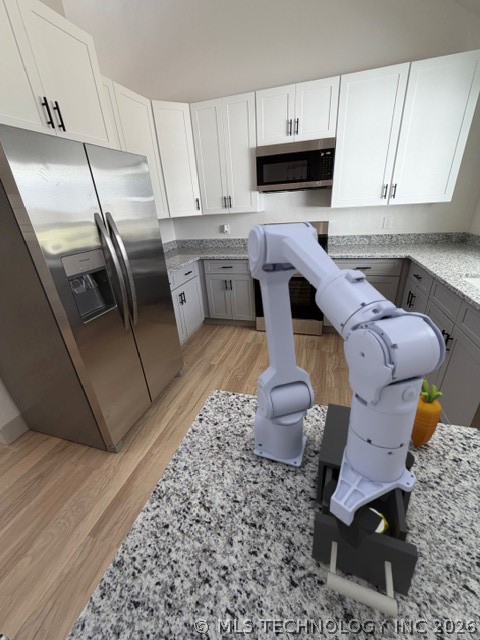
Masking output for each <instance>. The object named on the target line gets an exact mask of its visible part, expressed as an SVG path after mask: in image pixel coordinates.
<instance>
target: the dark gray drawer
mask: <svg viewBox="0 0 480 640" xmlns="http://www.w3.org/2000/svg"><path fill="white" fill-rule="evenodd" d="M339 475H340V469H336V468H333V467H329V466H327V472H326V479H325V486H326V485H327V483H328V482H329V481H330V480H331V479H333V480H335V481H336V482H338V480H339ZM366 506H367V507H368V508H371V509H374V510H376V511H377V512H378V513H381V514H382V515H383V517H384V519H385V520H386V522H387V524H388V526H389V527H388V529H387V530H386V531H385V532H384V533H382V534H381V533H378V532H374V533H373V534H372V535H366V536H365V538H364V540H363V542H362V543H361V545H360V547H359V548H358V549H354V548H353V547H352V546H351V545H349V544H348V543H347V542H346V541H345V540H343V539H342V538H341V537H340V534H339V530H338V526H337V523H336V520H335V517H334V515H333V513H332V512H330V508H329V506H328V505H327V504H326V502H325V501H324V500H323V502H322V505H321V512H319V511H316V510H315V512H314V517H313V531H312V532H313V533H312V547H311V559H313V560H316V561H318V562H320V563H323V564H325V565H327V566H329V571H328V572H327V577H326V589H329V590H330V591H333V592H336V593H338V594H340V595H342V596H345V597H347V598H349V599H352V600H354V601H356V602H358V603H361V604H363V605H364V606H367V607H370V608H372V609H375V610H377V611H379V612H381V613H383V614H385V615H388V616H390V617H393V618H396V619H398V611H399V610H398V601H397V600H396V599H395V596H394V593H396V594H398V595H401V596H403V597H408V595H409V592H410V591H409V590H410V587H411V584H412V581H413V577H414V573H415V569H416V566H417V563H418V558H419V552H418V547H417V545H415V544H413V543H410V542H407V541H406V540H407V537H408V526H407V520H406V517H405V512H404V505H403V498H402V491H401V488H399V487H396V488H394V489H393V490H392V492H391V494H390V495H389V497H388V499H387V500H386V501H385V502H384V501H382V500H381V499H379V498H378V497H377V498H376V499H374V500H372V501H370V502H368V503H366ZM336 570H340V571H343V572H345V573H347V574H349V575H352V576H355V577H357V578H359V579H362V580H365V581H367V582H370V583H372V584H374V585H377V586H379V587H382V588H384V589H386V591H385V592H386V595H385V594H383V593H380V592H377V591H376V590H374V589H370V588H368V587H365V586H364V585H361V584H358V583H357V582H354V581H351V580H349V579H347V578H344V577H342V576H340V575H337V574H336Z"/></svg>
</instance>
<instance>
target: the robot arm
mask: <svg viewBox="0 0 480 640" xmlns="http://www.w3.org/2000/svg"><path fill="white" fill-rule="evenodd" d="M246 248H247V256H248V265H249V271H250V275H251V278H253V279H256V280H258V281H259V286H260V292H261V299H262V309H263V318H264V326H265V336H266V344H267V353H268V361H269V366H268V367H267V368H266V369H265V370H263V372H261V373H260V375H258V377H257V379H256V380H257V381H256V388H257V389H256V400H257V405H258V408H257V410H256V412H255V416H254V422H253V434H254V435H253V436H254V449H253V454H254V455H255V456H259V457H263V458H266V459H269V460H273V461H276V462H279V463H282V464H286V465H288V466H289V465H290V466H293V467H296V468H300V467H301V466H302V462H303V457H304V454H305V450H306V449H305V448H306V445H307V440H308V437H307V436H306V435H304V417H305V416H307V415H308V410H311V409H312V408H313V407H314V404H315V391H314V389H313V386H312V384H311V378H310V374H309V373H308V371H306V370H305V369H303V368H302V367H300V366H298V365H297V357H296V349H295V340H294V339H295V338H294V330H293V320H292V310H291V309H292V308H291V301H290V300H291V299H290V289H289V282H290V280H291V278H292V276H293V275H295V274H298V273H300V274H301V275H302V276H303V278H305V280H307V281H308V282H309V284H311V285H312V286H313V287H314V288H315V289H316V293H315V298H314V299H315V304H316V305H317V307H318V308H319V309H320V311H321V313H323V314H324V316H325V317H326V318H327V320H328V321H329V322H330V323H331V325H332V326H333V328H334V329H335V330H336V331H337V333H338V334H339V336H341V338H342V339H343V353H344V358H345V361H346V364H347V366H348V383H349V388H350V389H351V390H352V396H351V404H350V407H351V412H350V421H349V429H348V438H347V445H346V447H345V450H344V454H343V460H342V465H341V470H340V475H339V480H338V482H336V481H335V480H333V479H331V480H330V481H329V482H328V483H327V485H326V486H325V487H324V489H323V500H324V501H325V502H326V504H327V505H328V506H329V508H330V512H332V513H333V515H334V517H335V520H336V523H337V526H338V530H339V534H340V537H341V538H342V539H343V540H345V541H346V542H347V543H348V544H349V545H351V546H352V547H353V548H354V549H358V548H359V547H360V545H361V543H362V542H363V540H364V538H365V536H366V535H372V534H373V533H374V532H375V531H376V530H377V528H378V526H379V525H380V523H381V521H382V519H383V517H381V516H380V515H378V514H377V513H376V512H374V511H373V510H371V509H370V508H368V507H367V506H366V503H368V502H370V501H372V500H374V499H376V498H377V497H378V498H379V499H381V500H382V501H384V502H385V501H386V500H387V499H388V497H389V495H390V494H391V492H392V490H393V489H394V488H396V487H399V488H401V489H403V490H405V491H407V492H410V491H411V490H412V491H413V489H414V487H415V485H416V482H417V476H416V475H415V474H414V473H413V472H411V469H412V467H413V466H414V464H415V462H416V461H415V460H416V457H415V456H414V455H413V453H412V452H410V451H409V446H410V441H411V434H412V429H413V424H414V420H415V415H416V410H417V406H418V401H419V396H421V393H420V392H421V390H422V388H423V385H422V383H423V380H424V377H423V376H424V375H427V374H429V373H431V372H434V371H436V370H438V369H439V368H440V367H441V365H442V364H443V362H444V360H445V357H446V352H447V351H446V350H447V349H446V348H447V347H446V342H445V338H444V336H443V334H442V332H441V330H440V329H439V328H438V326H437V325H436V324H435V323H434V321H432V318H430V317H429V316H428V315H426V314H424V313H421V312H415V311H413V312H412V311H409V312H408V311H406V310H404V309H403V307H402V308H398V307H397V306H396V305H395V304H394V303H393V302H391V301H390V300H388V299H387V298H386V297H385V296H384V295H383V294H382V293H381V292H380V291H378V290H377V289H376V288H375V287H374V286H373V285H372V284H371V283H370V282H368V281H367V280H366V278H367V275H366V274H365V273H364V272H362V271H361V270H360V269H359V270H358V269H357V270H355V269H350V268H346V269H340V268H339V266H338V265H337V264H336V263H335V261H334V260H333V259H332V258H331V257H330V256H329V254H328V253H327V252H326V251H325V250H324V249H323V247H322V246H321V245H320V243H319V237H318V229H317V228H316V227H313V225H312V224H311V223H310V222H308V221H301V222H295V223H281V224H266V225H265V224H262V225H260V224H254V225H253V226H252V227H251V229H250V231H249V233H248V237H247V245H246ZM409 471H410V472H409Z"/></svg>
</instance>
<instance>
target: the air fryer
mask: <svg viewBox="0 0 480 640" xmlns="http://www.w3.org/2000/svg"><path fill="white" fill-rule="evenodd" d="M350 412H351V406H345V405H341V404H340V405H339V404H335V403H330V402H328V403H327V410H326V413H325V421H324V426H323V433H322V438H321V444H320V450H319V456H318V465H317V466H318V467H317V468H318V469H317V479H316V493H315V495H316V496H315V497H316V498H315V504H317V505H319V506H322V502H323V489H324V487H325V479H326V472H327V466H329V467H333V468H336V469H340V470H341V465H342V460H343V454H344V450H345V447H346V445H347V438H348V429H349V421H350ZM409 472H411V470H410V471H409ZM401 491H402V498H403V505H404V512H405V518H406V517H407V513H408V509H409V505H410V502H411V501H410V500H411V497H412V492H413V489H412V490H411V491H410V492H407V491H405V490H403V489H401Z"/></svg>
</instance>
